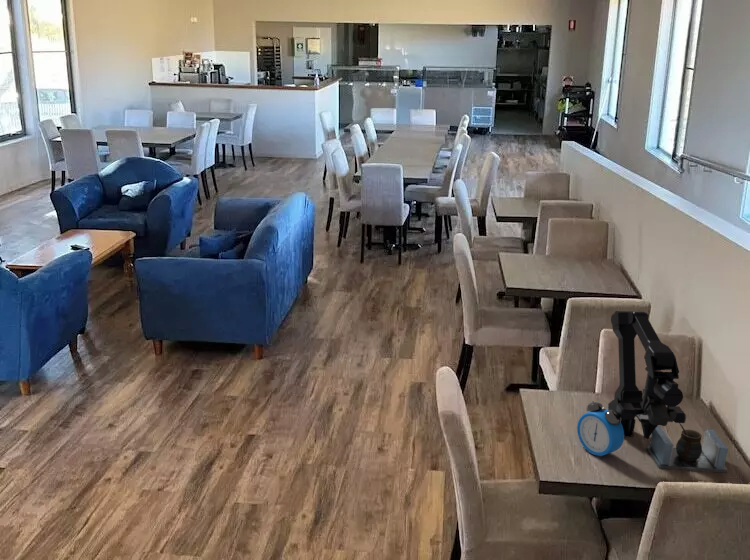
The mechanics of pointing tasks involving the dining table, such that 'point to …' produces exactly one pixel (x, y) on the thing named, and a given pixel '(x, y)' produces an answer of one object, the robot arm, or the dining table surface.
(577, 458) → the dining table surface
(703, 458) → the vise bed
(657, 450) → the free jaw
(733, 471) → the dining table surface
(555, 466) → the dining table surface
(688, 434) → the mate gourd
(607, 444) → the alarm clock
